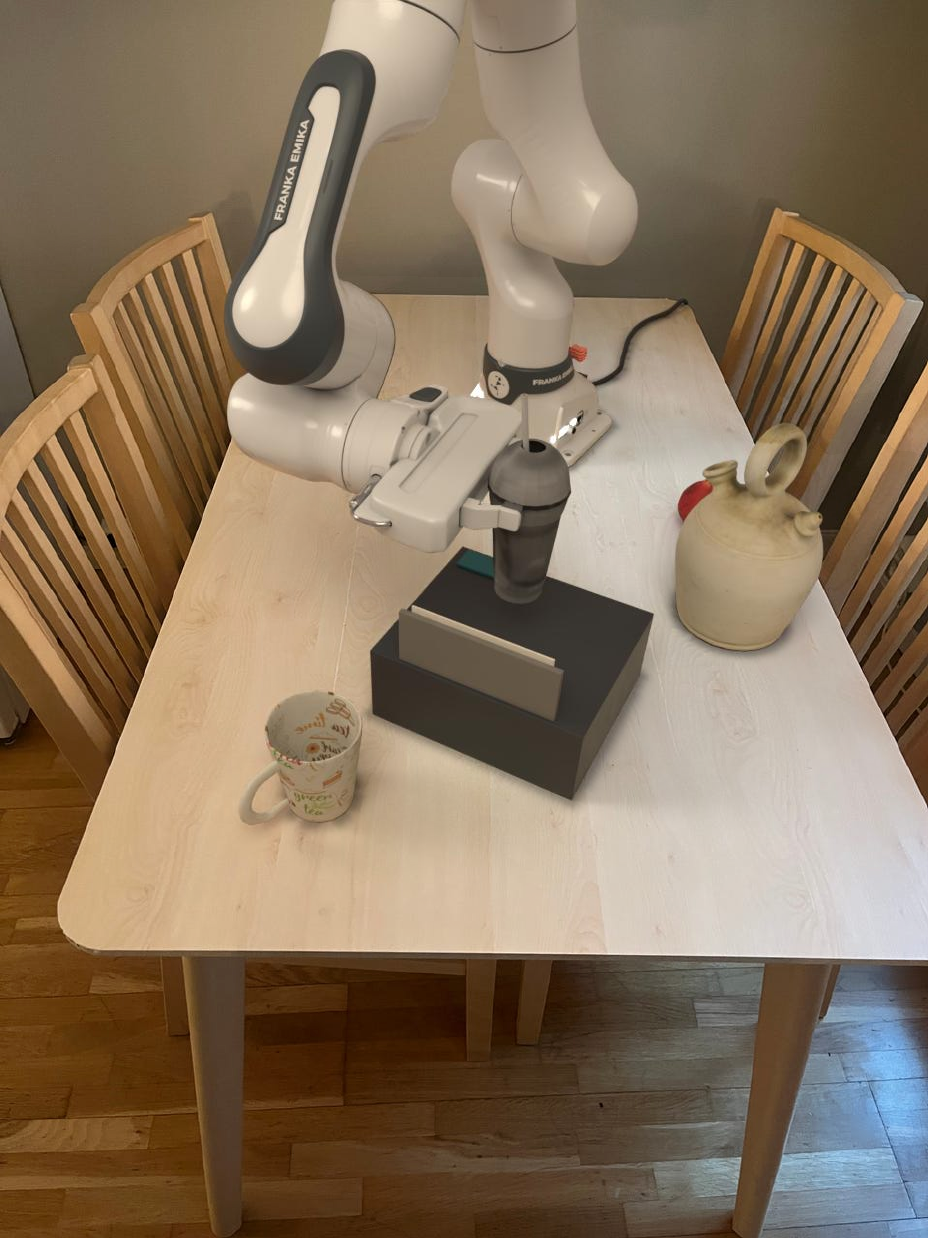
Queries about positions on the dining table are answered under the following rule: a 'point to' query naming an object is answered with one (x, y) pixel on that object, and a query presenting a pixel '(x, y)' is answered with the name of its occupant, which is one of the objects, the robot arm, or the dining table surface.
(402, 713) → the printer
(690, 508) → the red pomegranate
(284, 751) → the mug
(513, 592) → the beverage cup
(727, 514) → the jug
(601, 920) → the dining table surface
